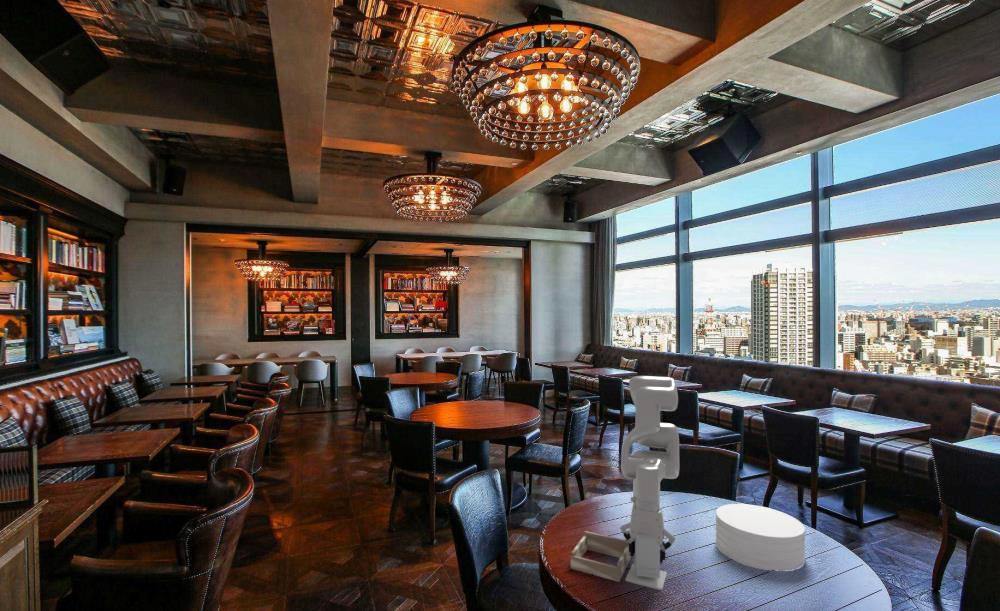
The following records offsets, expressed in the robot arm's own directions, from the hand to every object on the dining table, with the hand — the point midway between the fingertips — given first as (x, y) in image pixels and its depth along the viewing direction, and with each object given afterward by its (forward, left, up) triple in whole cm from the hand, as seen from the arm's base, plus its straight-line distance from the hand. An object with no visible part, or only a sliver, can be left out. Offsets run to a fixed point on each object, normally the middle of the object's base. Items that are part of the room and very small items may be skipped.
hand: (646, 558), depth 153 cm
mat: (0, 0, -6) cm, 6 cm away
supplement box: (0, 0, -4) cm, 4 cm away
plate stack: (-37, +32, -6) cm, 50 cm away
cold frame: (-1, -15, -6) cm, 16 cm away
